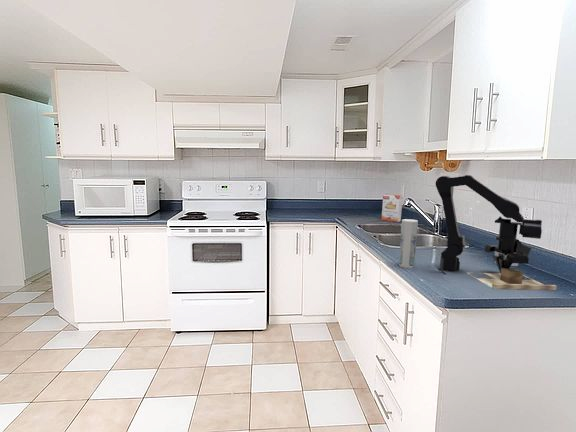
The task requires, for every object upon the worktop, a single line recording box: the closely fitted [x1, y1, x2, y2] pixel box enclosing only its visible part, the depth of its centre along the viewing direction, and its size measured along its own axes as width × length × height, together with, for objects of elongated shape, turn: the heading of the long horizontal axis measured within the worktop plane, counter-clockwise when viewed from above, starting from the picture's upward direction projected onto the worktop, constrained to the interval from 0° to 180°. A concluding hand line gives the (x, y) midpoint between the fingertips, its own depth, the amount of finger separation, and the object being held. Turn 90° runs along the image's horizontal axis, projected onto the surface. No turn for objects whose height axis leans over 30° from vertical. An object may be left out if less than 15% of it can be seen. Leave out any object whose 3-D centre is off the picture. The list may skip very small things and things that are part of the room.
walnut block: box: [500, 267, 524, 284], centre depth 135 cm, size 5×5×4 cm
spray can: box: [398, 218, 419, 269], centre depth 156 cm, size 6×6×20 cm
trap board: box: [467, 272, 558, 291], centre depth 136 cm, size 22×19×3 cm
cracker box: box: [381, 193, 404, 223], centre depth 290 cm, size 14×6×21 cm, turn 50°
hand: (503, 275), depth 140 cm, fingers closed
